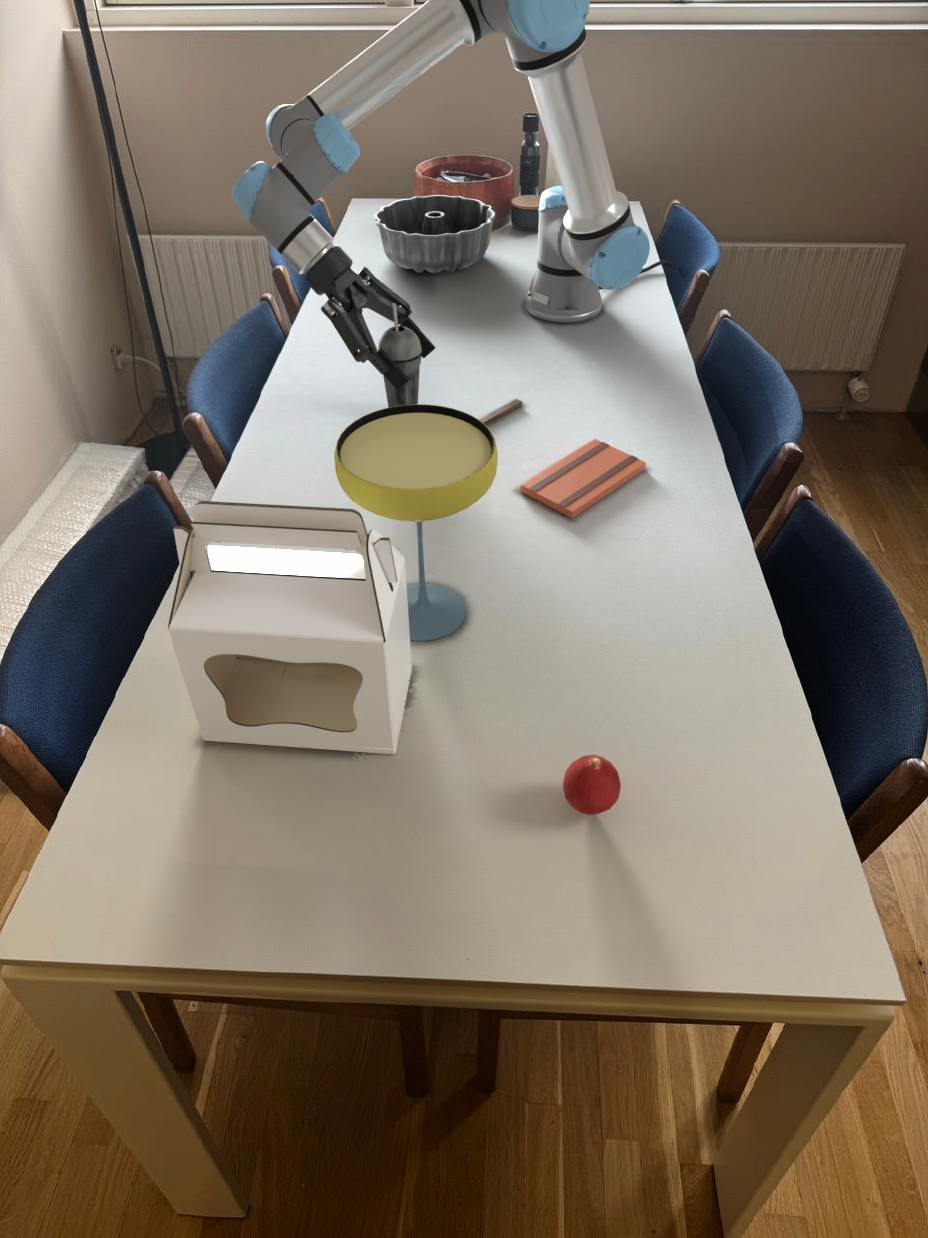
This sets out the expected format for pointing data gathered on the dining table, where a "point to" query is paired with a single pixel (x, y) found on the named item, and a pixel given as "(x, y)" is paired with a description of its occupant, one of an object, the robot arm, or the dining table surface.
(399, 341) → the beverage cup
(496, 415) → the spatula
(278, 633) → the gable box
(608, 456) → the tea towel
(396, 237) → the bundt pan
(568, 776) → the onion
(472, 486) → the cocktail glass
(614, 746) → the dining table surface
